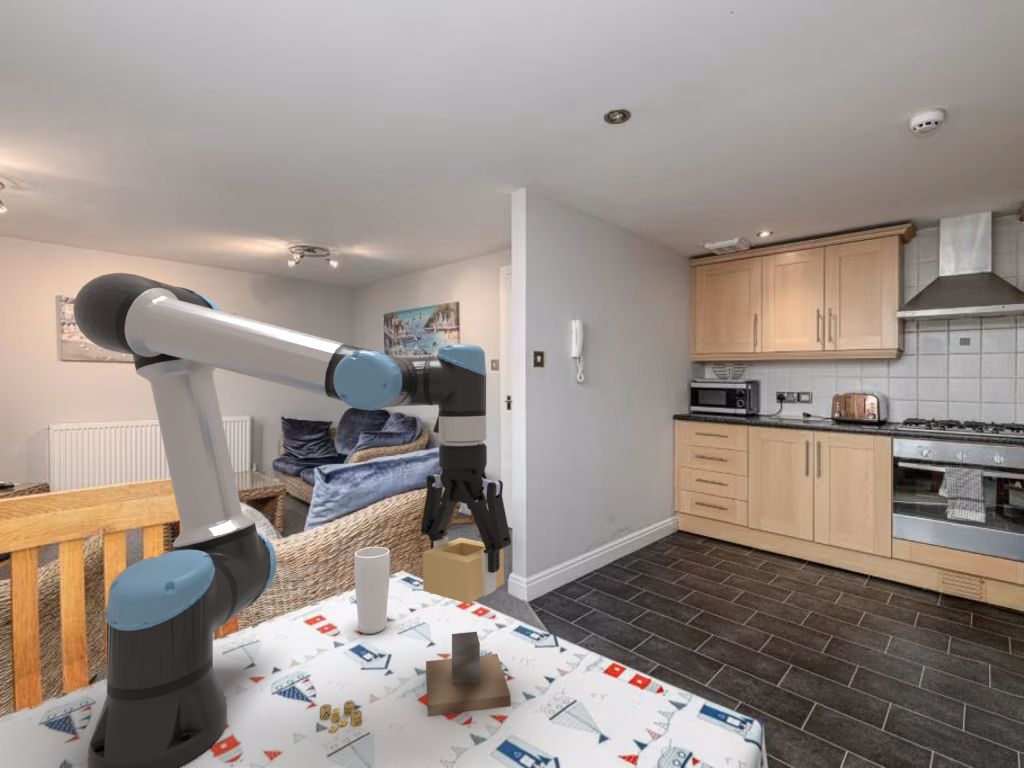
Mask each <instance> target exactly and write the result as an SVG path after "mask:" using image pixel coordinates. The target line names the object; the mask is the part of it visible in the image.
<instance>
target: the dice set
mask: <svg viewBox="0 0 1024 768" xmlns="http://www.w3.org/2000/svg"><path fill="white" fill-rule="evenodd" d="M340 710H341V709H340V707H335V708H332V705H331V704H330V703H325V704H323V705H320V707H319V719H321V720H328V719H330V720H331V721H332V722H333V723H334V724H331V725H330V726H329V728H328V729H327V731H328V733H331V734H336V732H337V731H338V730H339V728H345V727H347V725H348V723H349V720H348V719H341V716H340V713H341V712H340ZM362 712H363V711H362V710H360V709H355V701H354V700H347V701H345V702H344V703H343V715H344V716H346V717H348V716H350V725H351V726H352V727H353V726H355V727H357V726H359V725H361V724H362V719H363V718H362V715H363V714H362ZM337 722H338V725H335V723H337Z"/></svg>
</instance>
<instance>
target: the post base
mask: <svg viewBox="0 0 1024 768" xmlns="http://www.w3.org/2000/svg"><path fill="white" fill-rule="evenodd" d="M479 639H480V638H479V636H478V632H477V631H467V632H458V633H451V658H444V659H435V660H434V659H433V660H425V676H426V677H425V678H426V679H425V680H426V701H427V703H426V704H427V717H429V716H430V717H431V716H437V715H446V714H453V713H454V714H455V713H461V712H470V711H471V712H472V711H477V710H478V711H479V710H484V709H485V710H486V709H493V708H501V707H502V708H503V707H509V706H510V707H511V693H510V689H509V686H508V684H507V681H506V677H505V673H504V671H503V667H502V665H501V661H500V658H499V655H498V653H491V654H481V652H480V651H481V643H480V640H479Z"/></svg>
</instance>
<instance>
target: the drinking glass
mask: <svg viewBox="0 0 1024 768" xmlns="http://www.w3.org/2000/svg"><path fill="white" fill-rule="evenodd" d="M390 551H391V550H390V549H389V548H387V547H384V546H383V547H382V546H370V547H364V548H361V549H358V550H356V551H355V553H354V557H353V558H354V559H353V572H354V573H353V574H354V575H353V579H354V588H355V597H356V599H355V600H356V609H357V629H358V631H359V632H360V633H362V634H365V635H372V634H378V633H380V632H382V631H383V630H385V629H386V627H387V611H388V600H389V597H388V596H389V588H390V587H389V586H390V578H391V577H390V575H391V555H390V553H391V552H390Z"/></svg>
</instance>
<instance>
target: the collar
mask: <svg viewBox="0 0 1024 768" xmlns="http://www.w3.org/2000/svg"><path fill="white" fill-rule="evenodd" d="M504 549H505V548H502V549H500V563H499V564H500V568H499V570H498V571H496V589H498V588H499V587H501V586H503V585H504V584H505V568H504V567H505V563H504V561H505V560H504V558H505V557H504ZM483 550H486V548H485V546H484V543H483V541H479V540H474V539H469V538H464V537H458V538H456V539H453V540H450V541H448V543H445V544H443V545H440V546H437V547H435V548H432V549H431V548H428V549H427V550H425V551H423V552H422V583H423V584H422V590H423V592H425V593H429V594H433V595H436V596H440V597H443V598H448V599H450V600H454V601H457V602H460V603H464V604H471V603H473V602H475V601H476V600H478V599H480V598H481V597H484V595H482V571H481V551H483Z"/></svg>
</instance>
